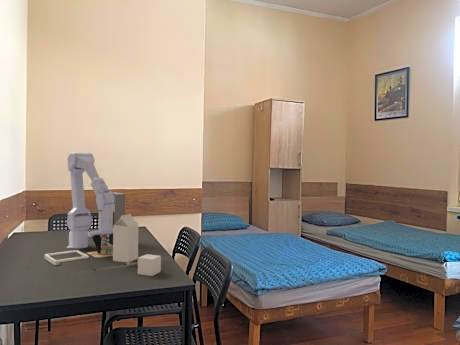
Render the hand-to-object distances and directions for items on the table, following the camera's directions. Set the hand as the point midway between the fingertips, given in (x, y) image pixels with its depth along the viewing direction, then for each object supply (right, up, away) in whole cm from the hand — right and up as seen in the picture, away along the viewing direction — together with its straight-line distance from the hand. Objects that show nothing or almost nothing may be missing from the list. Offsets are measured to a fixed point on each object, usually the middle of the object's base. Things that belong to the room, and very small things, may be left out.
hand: (105, 251), depth 164 cm
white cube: (+24, -3, -24) cm, 34 cm away
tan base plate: (0, -2, 0) cm, 2 cm away
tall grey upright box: (-4, -1, +22) cm, 23 cm away
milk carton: (+11, -2, -10) cm, 15 cm away
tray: (-13, -2, -8) cm, 15 cm away
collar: (0, -1, 0) cm, 1 cm away
